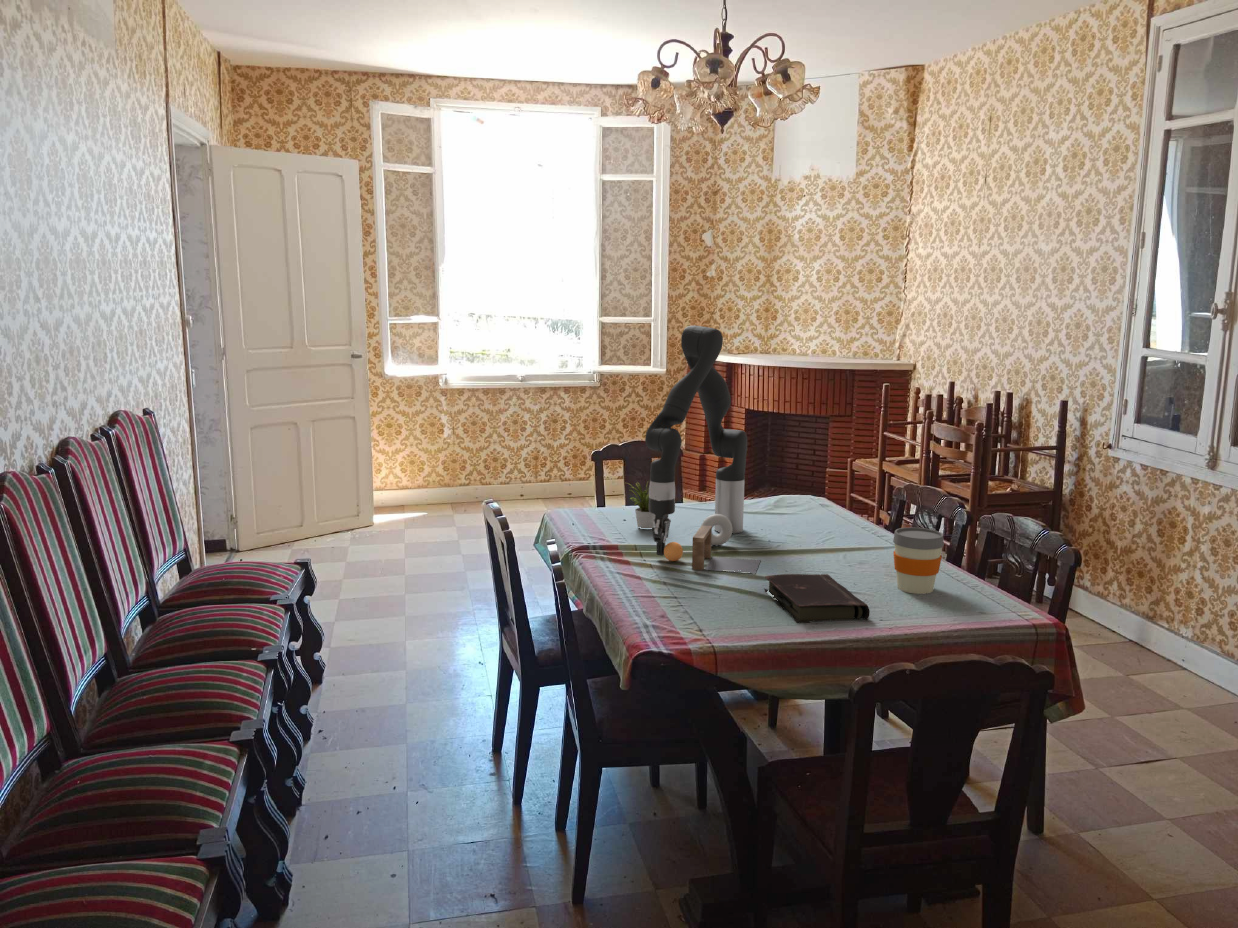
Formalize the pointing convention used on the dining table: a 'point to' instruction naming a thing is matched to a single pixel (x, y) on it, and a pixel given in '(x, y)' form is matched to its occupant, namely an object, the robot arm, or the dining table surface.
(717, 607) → the dining table surface
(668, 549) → the ball
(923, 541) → the reusable coffee cup
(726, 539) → the donut
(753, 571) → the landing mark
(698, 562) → the bridge
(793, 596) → the diary
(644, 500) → the house plant
